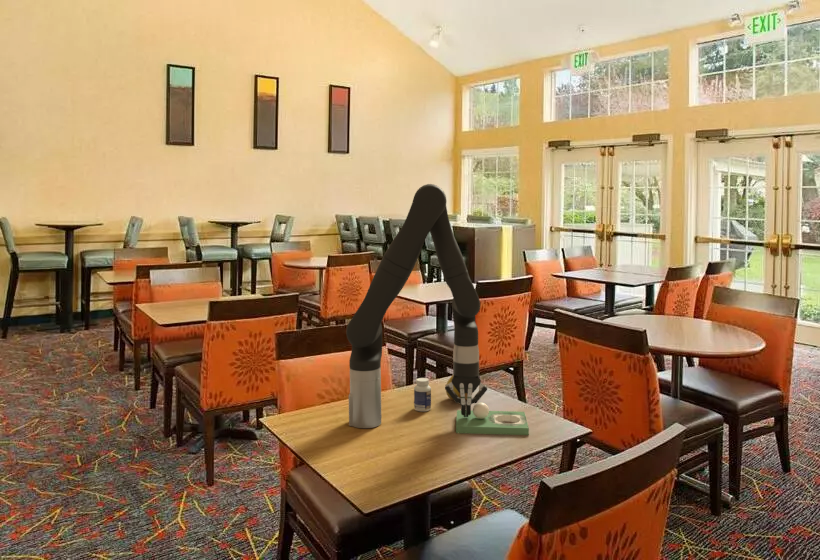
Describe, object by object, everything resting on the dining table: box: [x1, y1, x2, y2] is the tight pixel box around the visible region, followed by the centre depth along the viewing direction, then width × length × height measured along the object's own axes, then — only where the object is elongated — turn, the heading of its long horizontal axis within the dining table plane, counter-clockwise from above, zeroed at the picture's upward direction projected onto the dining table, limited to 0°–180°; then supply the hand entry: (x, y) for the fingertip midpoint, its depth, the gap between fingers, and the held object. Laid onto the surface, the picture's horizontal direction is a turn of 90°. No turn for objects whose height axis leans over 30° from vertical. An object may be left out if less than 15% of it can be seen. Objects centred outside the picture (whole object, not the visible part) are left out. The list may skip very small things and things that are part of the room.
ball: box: [472, 401, 490, 419], centre depth 186 cm, size 5×5×5 cm
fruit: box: [445, 374, 467, 402], centre depth 210 cm, size 9×9×12 cm
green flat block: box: [455, 409, 530, 436], centre depth 186 cm, size 21×14×2 cm
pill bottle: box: [413, 377, 432, 413], centre depth 200 cm, size 5×5×10 cm
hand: (466, 416), depth 187 cm, fingers closed
